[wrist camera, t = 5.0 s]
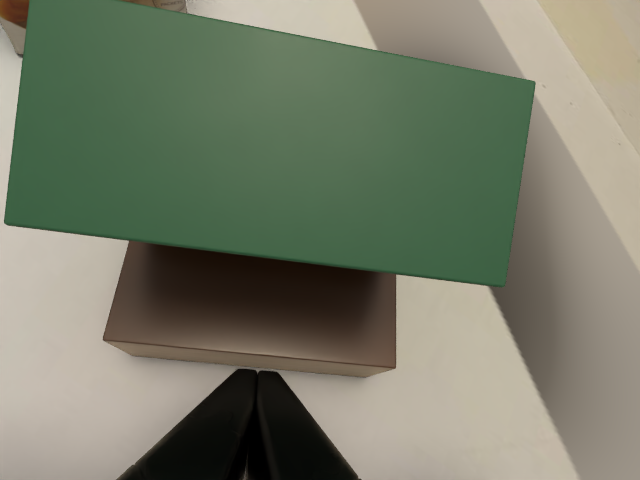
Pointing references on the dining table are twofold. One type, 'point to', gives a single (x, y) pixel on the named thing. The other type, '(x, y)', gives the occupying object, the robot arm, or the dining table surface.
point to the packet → (263, 144)
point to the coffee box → (12, 11)
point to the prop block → (253, 312)
